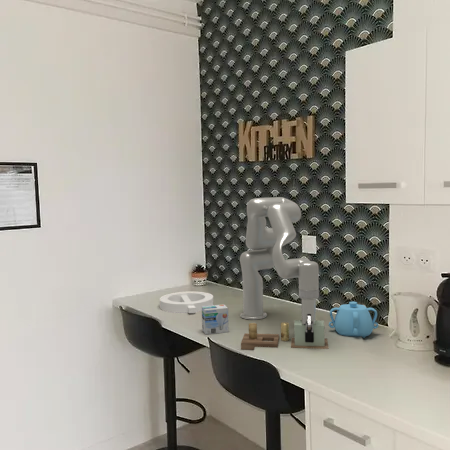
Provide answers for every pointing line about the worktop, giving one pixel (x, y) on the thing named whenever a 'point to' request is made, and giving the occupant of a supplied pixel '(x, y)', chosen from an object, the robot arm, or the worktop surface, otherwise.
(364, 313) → the decorative pot
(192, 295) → the ring with crossbar
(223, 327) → the light bulb box
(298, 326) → the cover
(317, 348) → the board
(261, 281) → the robot arm
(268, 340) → the build board
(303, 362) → the worktop surface
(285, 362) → the worktop surface
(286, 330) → the pin
